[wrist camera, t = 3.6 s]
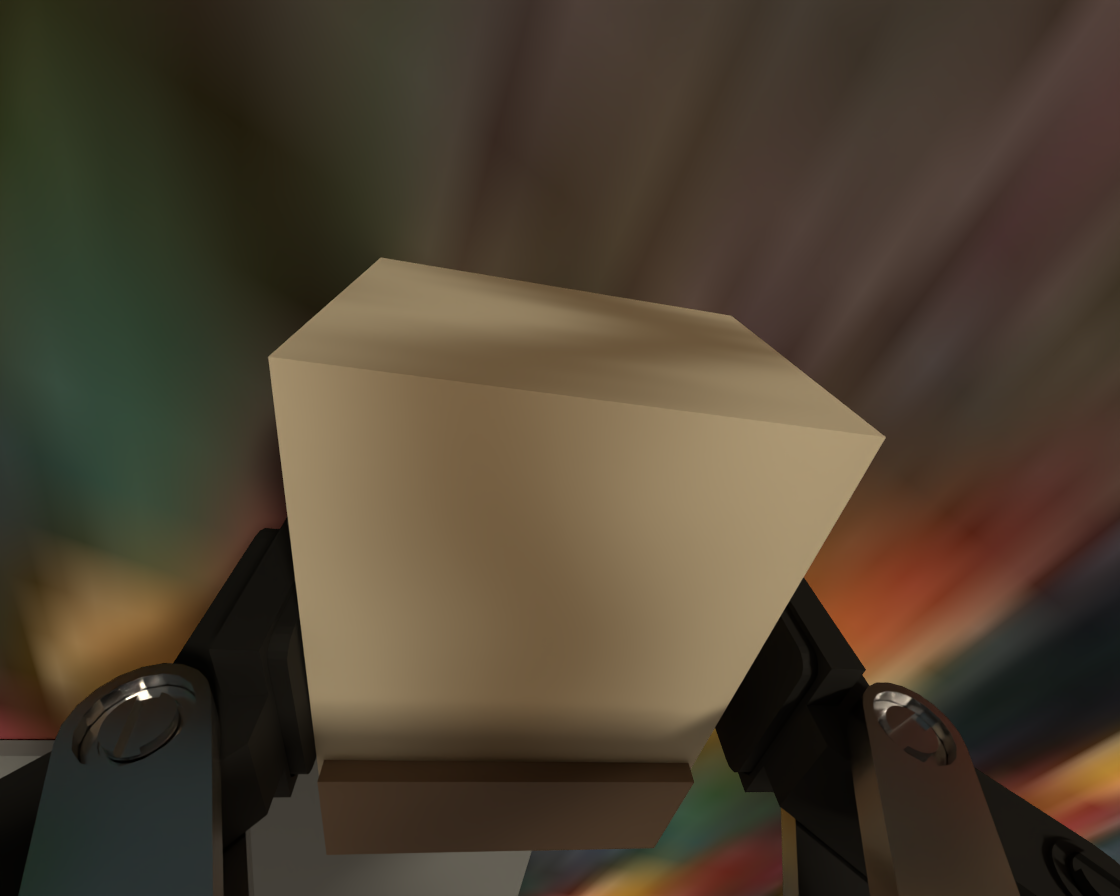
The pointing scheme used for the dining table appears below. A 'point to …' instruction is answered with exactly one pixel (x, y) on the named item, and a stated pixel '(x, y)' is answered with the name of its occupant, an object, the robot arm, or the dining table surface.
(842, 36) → the dining table surface
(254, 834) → the mat
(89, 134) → the dining table surface
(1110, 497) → the dining table surface
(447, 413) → the card box
